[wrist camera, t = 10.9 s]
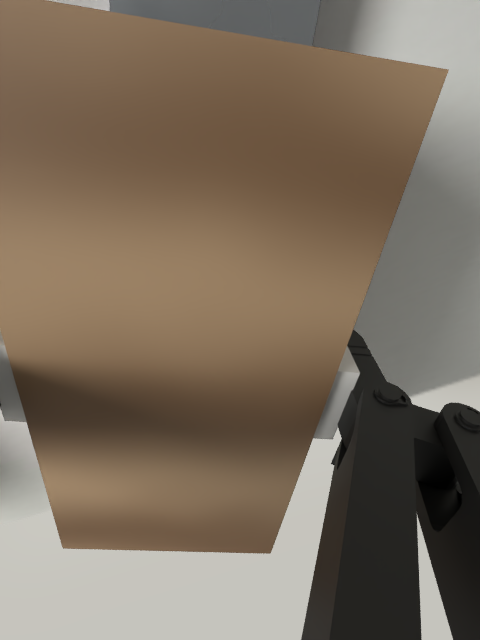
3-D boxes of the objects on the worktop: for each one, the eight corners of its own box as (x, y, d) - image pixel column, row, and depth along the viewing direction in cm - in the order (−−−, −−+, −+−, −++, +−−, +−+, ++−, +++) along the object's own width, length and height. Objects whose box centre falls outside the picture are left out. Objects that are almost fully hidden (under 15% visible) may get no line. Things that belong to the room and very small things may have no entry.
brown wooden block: (78, 37, 11) (-102, -25, 5) (334, 79, 11) (448, 69, 6) (112, 408, 19) (62, 548, 13) (257, 417, 20) (270, 553, 14)
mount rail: (118, -195, 10) (51, -375, 6) (335, -145, 11) (399, -279, 7) (137, 382, 22) (118, 445, 18) (240, 390, 22) (243, 452, 19)
